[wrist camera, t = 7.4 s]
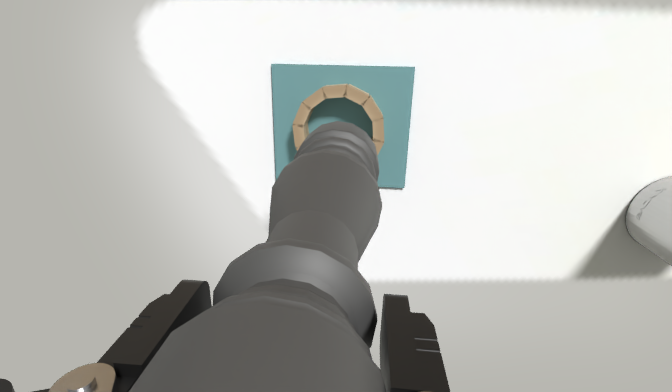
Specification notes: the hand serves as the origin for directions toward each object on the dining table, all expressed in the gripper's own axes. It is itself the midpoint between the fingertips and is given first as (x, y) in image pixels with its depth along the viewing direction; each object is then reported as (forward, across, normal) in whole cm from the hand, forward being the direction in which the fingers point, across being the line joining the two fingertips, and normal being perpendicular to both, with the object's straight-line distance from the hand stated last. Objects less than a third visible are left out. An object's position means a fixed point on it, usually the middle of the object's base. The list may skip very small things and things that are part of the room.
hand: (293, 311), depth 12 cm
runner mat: (+34, +1, 0) cm, 34 cm away
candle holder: (+19, 0, 0) cm, 19 cm away
